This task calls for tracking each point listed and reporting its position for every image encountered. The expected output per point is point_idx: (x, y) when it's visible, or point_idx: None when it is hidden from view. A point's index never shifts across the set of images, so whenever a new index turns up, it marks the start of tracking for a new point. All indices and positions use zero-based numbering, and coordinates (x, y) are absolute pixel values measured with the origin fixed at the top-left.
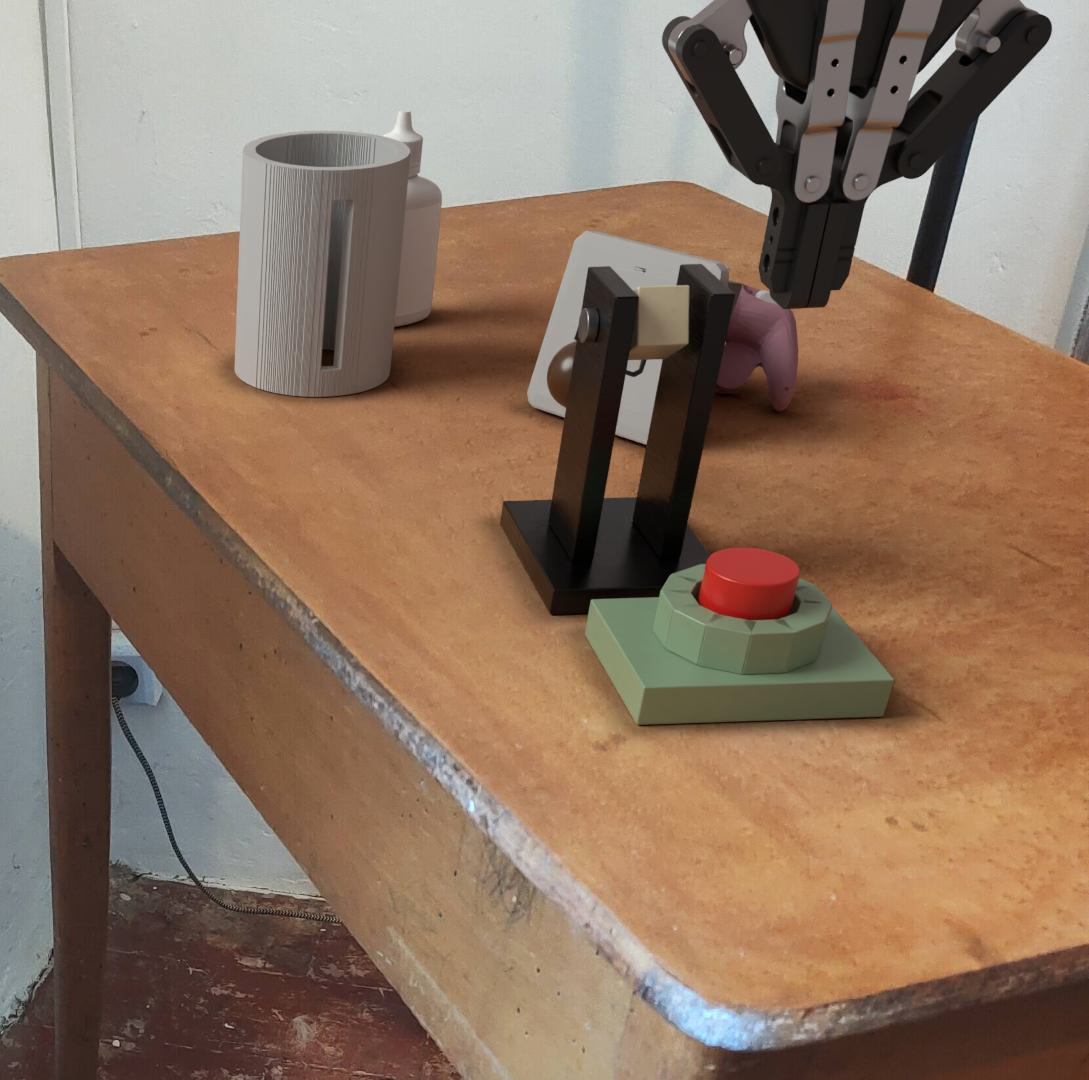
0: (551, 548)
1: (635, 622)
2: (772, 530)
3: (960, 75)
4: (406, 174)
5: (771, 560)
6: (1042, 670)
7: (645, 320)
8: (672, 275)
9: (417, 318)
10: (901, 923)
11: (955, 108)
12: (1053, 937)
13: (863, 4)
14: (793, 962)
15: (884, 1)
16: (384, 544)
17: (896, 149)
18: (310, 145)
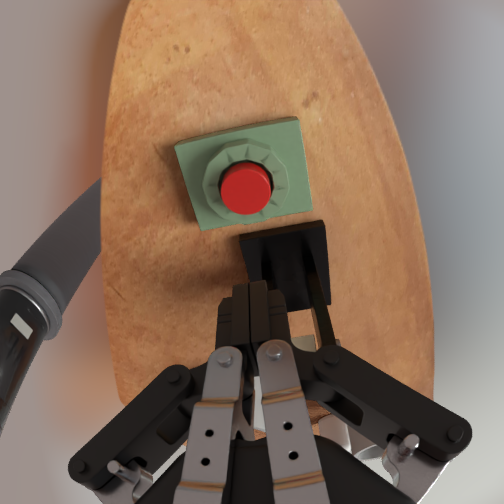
0: (319, 265)
1: (294, 188)
2: (213, 305)
3: (142, 448)
4: (355, 448)
5: (235, 200)
6: (111, 199)
7: (311, 348)
8: (258, 419)
9: (323, 418)
10: None
11: (142, 418)
12: None
13: None
14: None
15: None
16: (379, 275)
17: (193, 391)
18: (379, 453)
